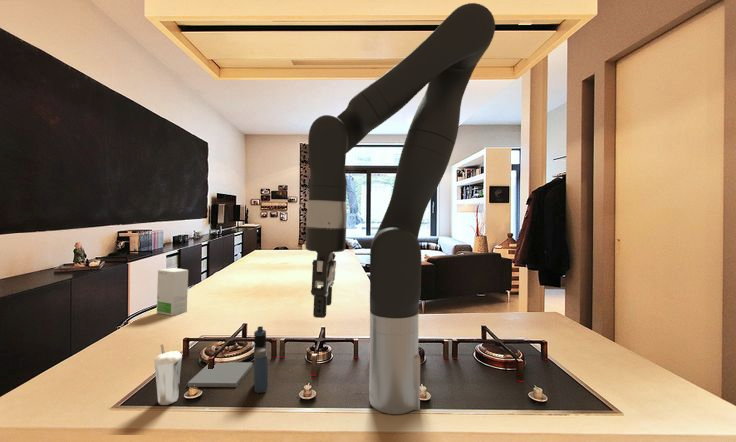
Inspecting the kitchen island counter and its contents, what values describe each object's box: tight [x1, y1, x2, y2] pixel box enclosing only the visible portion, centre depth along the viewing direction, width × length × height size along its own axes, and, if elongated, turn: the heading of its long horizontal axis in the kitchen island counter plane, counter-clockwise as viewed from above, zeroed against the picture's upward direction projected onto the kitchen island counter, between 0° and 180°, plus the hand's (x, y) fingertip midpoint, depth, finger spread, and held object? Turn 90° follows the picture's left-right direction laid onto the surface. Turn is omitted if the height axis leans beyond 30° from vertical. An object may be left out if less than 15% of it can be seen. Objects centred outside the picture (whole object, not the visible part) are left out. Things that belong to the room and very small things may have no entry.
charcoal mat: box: [187, 361, 254, 388], centre depth 76 cm, size 10×10×1 cm
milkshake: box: [153, 343, 183, 406], centre depth 66 cm, size 4×5×10 cm
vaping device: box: [253, 326, 269, 394], centre depth 71 cm, size 3×5×12 cm, turn 21°
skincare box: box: [156, 267, 189, 317], centre depth 125 cm, size 8×7×16 cm
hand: (322, 310), depth 66 cm, fingers open, 8 cm apart
